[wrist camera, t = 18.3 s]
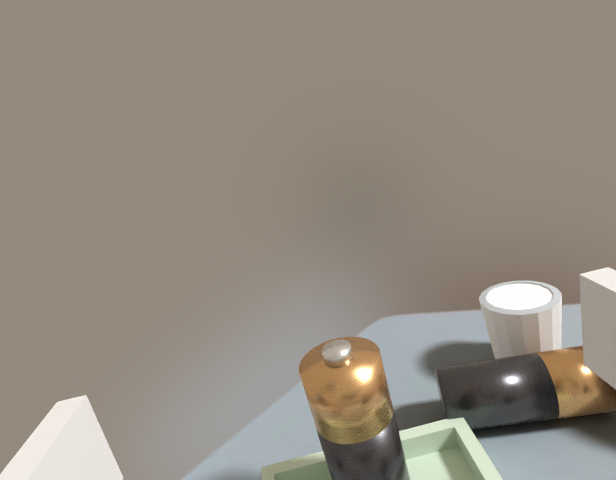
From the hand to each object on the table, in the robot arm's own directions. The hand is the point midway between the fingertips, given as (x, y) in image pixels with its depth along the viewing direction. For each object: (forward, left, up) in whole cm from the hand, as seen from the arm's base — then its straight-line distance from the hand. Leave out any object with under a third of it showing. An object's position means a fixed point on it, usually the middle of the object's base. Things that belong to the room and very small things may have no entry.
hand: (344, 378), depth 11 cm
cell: (-2, +13, -19) cm, 23 cm away
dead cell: (+10, +21, -20) cm, 30 cm away
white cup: (+13, +28, -20) cm, 37 cm away
